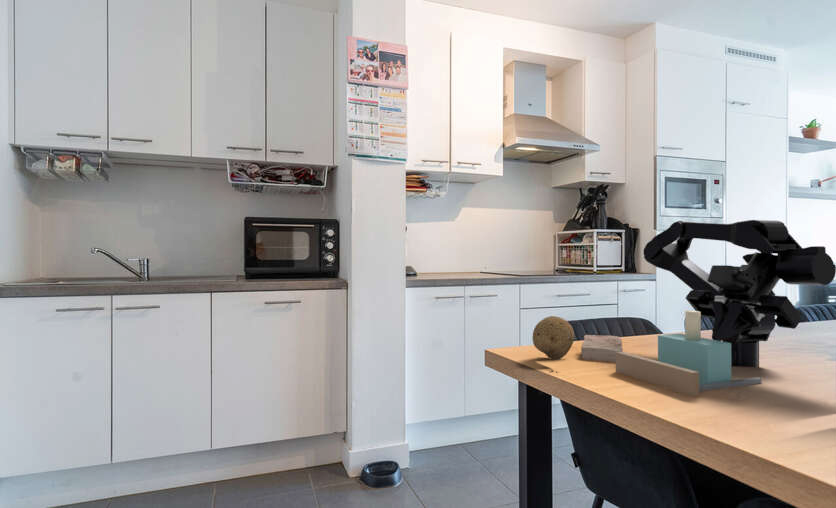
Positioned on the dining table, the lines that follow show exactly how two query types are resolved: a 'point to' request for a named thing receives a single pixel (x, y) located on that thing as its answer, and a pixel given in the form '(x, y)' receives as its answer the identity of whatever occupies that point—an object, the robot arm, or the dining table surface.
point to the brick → (601, 347)
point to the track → (670, 375)
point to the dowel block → (696, 351)
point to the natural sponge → (553, 337)
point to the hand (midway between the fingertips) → (714, 340)
